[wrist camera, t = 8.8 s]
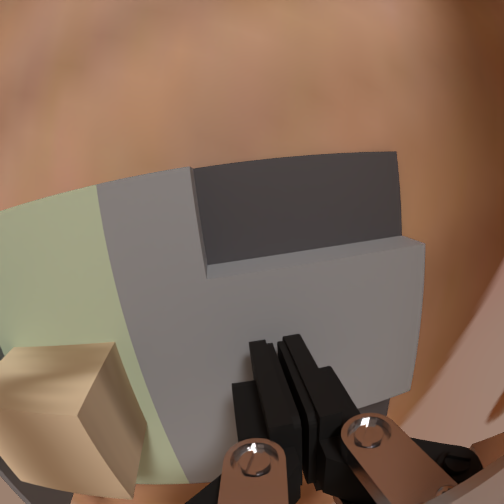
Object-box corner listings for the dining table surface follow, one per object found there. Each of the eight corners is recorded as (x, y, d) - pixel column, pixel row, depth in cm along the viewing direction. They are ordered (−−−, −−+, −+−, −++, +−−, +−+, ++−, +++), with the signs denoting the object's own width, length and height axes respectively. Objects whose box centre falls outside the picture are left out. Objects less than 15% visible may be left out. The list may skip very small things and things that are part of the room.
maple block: (114, 341, 10) (76, 415, 6) (147, 423, 11) (132, 499, 7) (13, 346, 9) (-37, 401, 5) (51, 421, 10) (20, 480, 6)
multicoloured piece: (392, 151, 11) (502, 144, 6) (383, 415, 15) (433, 487, 9) (-15, 218, 10) (-109, 247, 4) (79, 454, 13) (54, 529, 7)
